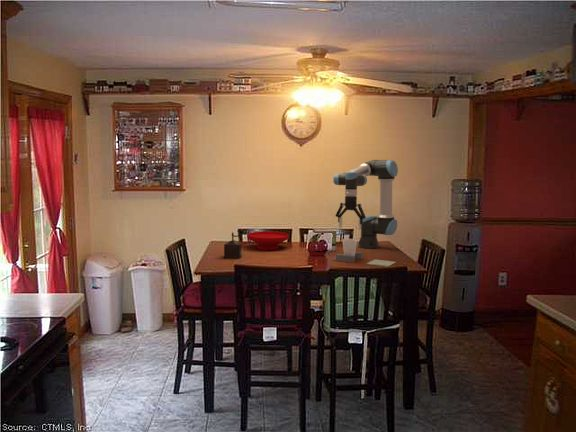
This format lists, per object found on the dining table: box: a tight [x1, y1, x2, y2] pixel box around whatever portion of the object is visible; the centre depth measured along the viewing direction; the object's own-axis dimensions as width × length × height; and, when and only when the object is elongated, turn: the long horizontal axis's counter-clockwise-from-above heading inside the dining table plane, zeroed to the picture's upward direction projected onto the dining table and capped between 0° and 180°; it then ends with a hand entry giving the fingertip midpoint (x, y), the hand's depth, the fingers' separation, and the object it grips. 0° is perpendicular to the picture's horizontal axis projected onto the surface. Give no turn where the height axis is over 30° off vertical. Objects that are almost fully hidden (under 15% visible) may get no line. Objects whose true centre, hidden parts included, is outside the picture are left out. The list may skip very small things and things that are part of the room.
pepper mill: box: [223, 228, 244, 260], centre depth 348 cm, size 16×11×18 cm
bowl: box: [246, 230, 290, 251], centre depth 382 cm, size 30×30×10 cm
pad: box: [366, 259, 397, 268], centre depth 331 cm, size 14×14×1 cm
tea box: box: [312, 228, 337, 252], centre depth 375 cm, size 15×10×15 cm
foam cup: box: [342, 238, 358, 256], centre depth 341 cm, size 10×9×13 cm
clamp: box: [332, 251, 364, 264], centre depth 342 cm, size 16×14×4 cm
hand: (350, 228), depth 339 cm, fingers open, 13 cm apart
